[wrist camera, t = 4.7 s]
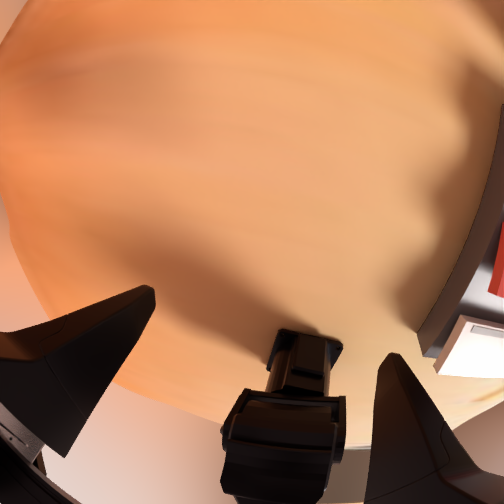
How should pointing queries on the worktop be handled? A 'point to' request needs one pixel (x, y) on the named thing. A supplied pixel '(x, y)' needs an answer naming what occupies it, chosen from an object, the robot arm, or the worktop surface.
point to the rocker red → (498, 270)
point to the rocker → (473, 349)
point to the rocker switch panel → (472, 266)
